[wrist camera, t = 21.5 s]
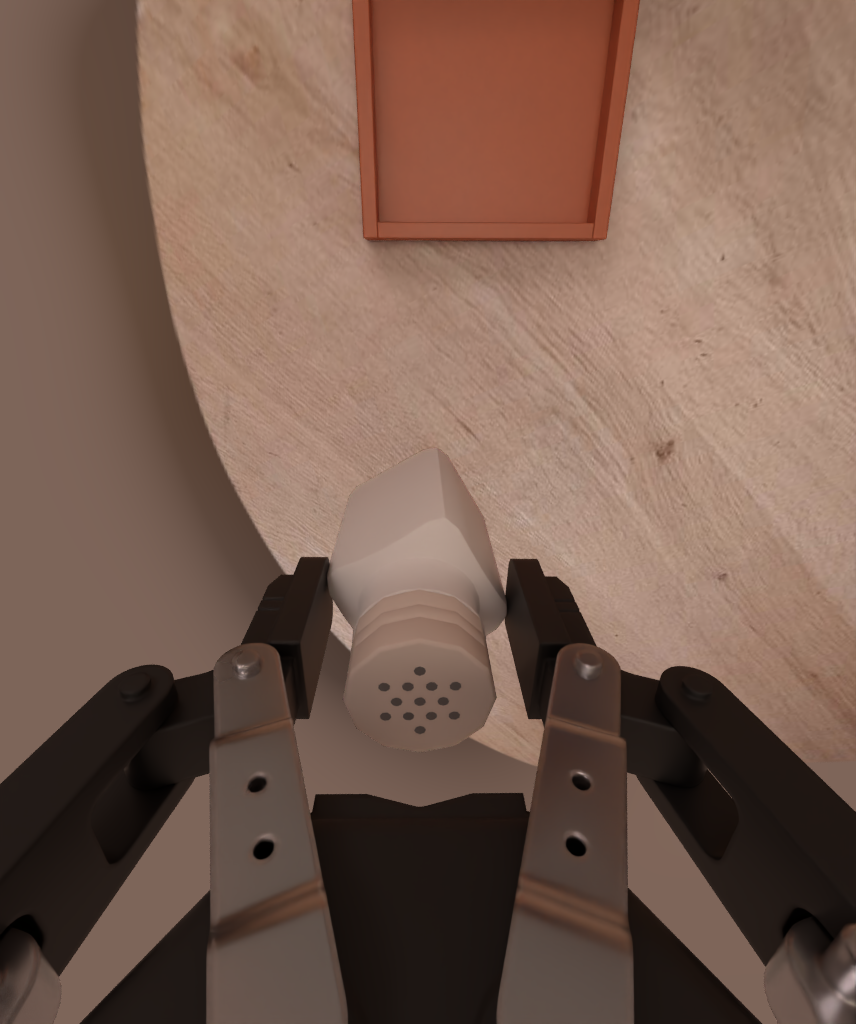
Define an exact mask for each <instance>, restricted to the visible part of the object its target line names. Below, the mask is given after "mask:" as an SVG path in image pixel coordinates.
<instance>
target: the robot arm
mask: <svg viewBox="0 0 856 1024" xmlns="http://www.w3.org/2000/svg"><path fill="white" fill-rule="evenodd" d="M329 566H330V564H329V559H328V557H301V558H300V560H299V562H298V565H297V567H296V570H295V572H294V575H280V576H279V577H278V578H277V579H276V580H274V581H273V582H272V583H271V584H270V585H269V586H268V587H267V590H266V592H265V594H264V596H263V600H262V601H261V603H260V605H259V607H258V611H256V613H255V615H254V618H253V620H252V622H251V624H250V626H249V629H248V630H247V633H246V635H245V637H244V639H243V641H242V643H241V645H240V646H237V647H235V648H233V649H231V650H229V651H228V652H226V653H225V654H224V655H222V656H221V657H220V658H219V660H218V661H217V662H216V664H215V667H214V670H212V671H209V672H206V673H203V674H199V675H195V676H190V677H186V678H182V679H177V680H174V678H173V674H172V673H171V671H170V670H169V669H167V668H166V667H164V666H160V665H143V666H139V667H135V668H132V669H129V670H127V671H125V672H123V673H121V674H119V675H117V676H116V677H114V678H113V679H112V680H110V681H109V682H108V683H107V684H106V685H105V686H104V687H103V688H102V689H101V690H99V691H98V692H97V693H96V694H95V695H94V696H93V697H92V698H91V699H90V700H89V701H88V702H87V703H86V704H85V705H84V706H83V707H82V708H81V709H79V710H78V711H77V712H76V713H75V714H74V715H73V716H72V717H71V718H70V719H69V720H68V721H67V722H66V723H65V724H63V725H62V726H61V727H60V729H58V730H57V731H56V732H55V733H54V734H53V735H52V736H51V737H50V738H49V739H48V740H47V741H46V742H44V743H43V744H42V745H41V746H40V747H39V748H38V749H37V750H36V751H35V752H34V753H33V754H32V755H31V756H30V757H29V758H28V759H26V760H25V761H24V762H23V763H22V764H21V765H20V766H19V767H18V768H17V769H16V770H15V771H14V772H13V773H12V774H11V775H10V776H8V777H7V778H6V779H5V780H4V781H3V782H2V783H1V784H0V1024H53V1023H54V1020H55V1018H56V1015H57V1012H58V1009H59V1006H60V1000H61V983H60V979H59V976H60V974H61V973H62V972H63V970H64V969H65V967H66V966H67V964H68V963H69V961H70V960H71V959H72V957H73V955H74V954H75V953H76V951H77V950H78V948H79V947H80V945H81V944H82V942H83V941H84V940H85V938H86V937H87V935H88V934H89V932H90V931H91V929H92V928H93V926H94V925H95V923H96V922H97V921H98V919H99V918H100V916H101V915H102V913H103V912H104V911H105V909H106V908H107V906H108V905H109V903H110V902H111V900H112V899H113V897H114V896H115V894H116V893H117V892H118V890H119V888H120V887H121V886H122V884H123V883H124V881H125V880H126V879H127V877H128V876H129V874H130V873H131V871H132V870H133V868H134V867H135V865H136V864H137V863H138V861H139V859H140V858H141V857H142V855H143V854H144V852H145V851H146V849H147V848H148V847H149V845H150V844H151V842H152V841H153V839H154V838H155V836H156V835H157V833H158V832H159V830H160V829H161V828H162V826H163V825H164V823H165V822H166V820H167V819H168V818H169V816H170V815H171V813H172V812H173V810H174V809H175V807H176V806H177V804H178V803H179V801H180V800H181V799H182V797H183V796H184V794H185V793H186V791H187V790H188V788H189V787H190V785H191V784H192V782H193V781H194V779H195V777H198V776H202V775H205V774H208V773H210V891H209V892H208V893H207V894H206V895H205V896H204V897H203V898H202V899H201V900H200V901H199V902H198V903H197V904H196V905H195V906H194V907H193V908H192V909H191V910H190V911H189V912H188V913H187V914H186V915H185V916H184V917H183V918H182V919H181V920H180V921H179V922H178V923H177V924H176V925H175V926H174V928H172V929H171V930H170V932H169V933H168V934H167V935H166V936H165V937H164V938H163V939H162V940H161V941H160V942H159V943H158V944H157V945H156V946H155V947H154V948H153V949H152V950H151V951H150V952H149V953H148V954H147V955H146V956H145V957H144V958H143V959H142V960H141V961H140V962H139V963H138V964H137V965H136V966H135V967H134V968H133V969H132V970H131V971H130V972H129V973H128V974H127V976H125V978H124V979H123V980H122V981H121V982H120V983H119V984H118V985H117V986H116V987H115V988H114V989H113V990H112V991H111V992H110V993H109V994H108V995H107V996H106V997H105V998H104V999H103V1000H102V1001H101V1002H100V1003H99V1004H98V1005H97V1006H96V1007H95V1008H94V1009H93V1010H92V1012H90V1013H89V1014H88V1016H86V1017H85V1018H84V1020H83V1021H82V1022H81V1023H80V1024H762V1023H761V1022H760V1021H759V1020H758V1019H757V1018H756V1017H755V1016H754V1015H753V1014H752V1013H751V1012H750V1011H749V1010H748V1009H747V1008H746V1007H745V1006H744V1005H743V1004H742V1003H741V1002H740V1001H739V1000H738V999H737V998H736V997H735V996H734V995H733V994H732V993H731V992H730V991H729V990H728V989H727V988H726V987H725V986H724V984H722V982H721V981H720V980H719V979H718V978H717V977H716V976H715V975H714V974H713V973H712V972H711V971H710V970H709V969H708V968H707V967H706V966H705V965H704V964H703V963H702V962H701V961H700V960H699V959H698V958H697V957H696V956H695V955H694V954H693V953H692V952H691V951H690V950H689V949H688V948H687V947H686V946H685V945H684V944H683V943H682V942H681V941H680V940H679V939H678V938H677V937H676V936H675V935H674V934H673V933H672V932H671V931H670V930H669V929H668V928H667V927H666V926H665V925H664V924H663V923H662V922H661V921H660V920H659V919H658V918H657V917H656V916H655V915H654V914H653V913H652V912H651V910H650V909H649V908H648V907H647V906H646V905H645V904H644V903H643V902H642V901H641V900H640V899H639V898H638V897H637V896H636V895H635V894H634V893H633V892H632V891H631V890H630V889H629V888H628V878H627V877H628V875H627V874H628V873H627V872H628V871H627V870H628V865H627V772H628V773H631V774H635V775H636V776H637V778H638V780H639V781H640V783H641V784H642V786H643V787H644V789H645V790H646V792H647V793H648V795H649V796H650V798H651V799H652V801H653V802H654V804H655V805H656V807H657V808H658V810H659V811H660V813H661V814H662V815H663V817H664V818H665V820H666V821H667V823H668V824H669V825H670V827H671V829H672V830H673V832H674V833H675V835H676V836H677V837H678V839H679V840H680V842H681V843H682V844H683V846H684V848H685V849H686V851H687V852H688V854H689V855H690V857H691V858H692V860H693V861H694V862H695V864H696V865H697V867H698V868H699V870H700V871H701V873H702V874H703V876H704V877H705V879H706V880H707V882H708V883H709V885H710V886H711V887H712V889H713V890H714V892H715V893H716V895H717V896H718V898H719V899H720V901H721V902H722V904H723V905H724V906H725V908H726V909H727V911H728V912H729V914H730V915H731V917H732V918H733V920H734V921H735V923H736V924H737V926H738V927H739V928H740V930H741V932H742V933H743V934H744V936H745V937H746V939H747V940H748V942H749V943H750V945H751V946H752V948H753V949H754V951H755V952H756V954H757V955H758V956H759V958H760V959H761V961H762V962H763V964H764V965H765V967H766V968H765V972H764V987H765V993H766V996H767V1000H768V1003H769V1005H770V1007H771V1010H772V1012H773V1014H774V1016H775V1018H776V1020H777V1024H856V812H855V811H854V810H853V809H852V808H851V807H850V806H849V805H848V804H847V803H846V802H845V801H844V800H842V798H841V797H839V796H838V795H837V794H836V793H835V792H834V791H833V790H832V789H831V788H830V787H829V786H828V785H827V784H826V783H825V782H824V781H823V780H822V779H821V778H820V777H819V776H818V775H817V774H816V773H815V772H814V771H812V770H811V769H810V768H809V767H808V766H807V765H806V764H805V763H804V762H803V761H802V760H801V759H800V758H799V757H798V756H797V755H796V754H795V753H794V752H793V751H792V750H791V749H790V748H789V747H788V746H787V745H786V744H784V743H783V742H782V741H781V740H780V739H779V738H778V737H777V736H776V735H775V734H774V733H773V732H772V731H771V730H770V729H769V728H768V727H767V726H766V725H765V724H764V723H763V722H762V721H761V720H760V719H759V718H758V717H756V716H755V715H754V714H753V713H752V712H751V711H750V710H749V709H748V708H747V707H746V706H745V705H744V704H743V703H742V702H741V701H740V700H739V699H738V698H737V697H736V696H735V695H734V694H733V693H732V692H731V691H730V690H728V689H727V688H726V687H725V686H724V685H723V684H722V683H721V682H720V681H719V680H717V679H716V678H714V677H713V676H711V675H710V674H708V673H706V672H703V671H701V670H698V669H695V668H691V667H685V666H675V667H671V668H668V669H666V670H665V671H664V672H663V673H662V675H661V678H660V681H659V680H655V679H651V678H647V677H642V676H638V675H634V674H631V673H628V672H625V671H623V670H621V669H620V666H619V664H618V662H617V661H616V659H615V658H614V657H613V656H612V655H611V654H609V653H608V652H606V651H605V650H603V649H601V648H599V647H597V646H596V644H595V642H594V640H593V638H592V636H591V633H590V631H589V629H588V627H587V625H586V623H585V621H584V619H583V616H582V614H581V612H579V608H578V606H577V604H576V602H575V600H574V597H573V595H572V593H571V591H570V589H569V587H568V586H567V585H565V584H564V583H563V582H562V581H561V580H560V579H558V578H557V577H545V576H544V573H543V571H542V569H541V566H540V564H539V561H538V560H537V559H510V562H509V567H508V576H507V585H506V595H505V597H506V601H507V616H506V617H505V626H506V630H507V634H508V638H509V642H510V646H511V650H512V654H513V658H514V663H515V667H516V671H517V675H518V679H519V683H520V687H521V691H522V695H523V699H524V703H525V707H526V711H527V716H528V719H542V722H543V725H544V733H543V739H542V745H541V750H540V756H539V762H538V768H537V773H536V779H535V786H534V791H533V797H532V802H531V808H530V812H529V811H526V806H525V801H524V796H523V793H479V794H478V793H473V794H469V795H465V796H462V797H457V798H454V799H450V800H446V801H443V802H439V803H436V804H432V805H428V806H424V807H416V806H412V805H408V804H403V803H400V802H396V801H392V800H388V799H384V798H380V797H376V796H372V795H368V794H316V795H315V801H314V806H313V811H312V813H310V810H309V805H308V800H307V794H306V789H305V784H304V778H303V773H302V768H301V762H300V757H299V753H298V747H297V742H296V737H295V731H294V724H295V720H296V719H309V717H310V713H311V709H312V704H313V700H314V696H315V691H316V688H317V683H318V679H319V675H320V671H321V667H322V662H323V658H324V654H325V650H326V645H327V641H328V637H329V633H330V629H331V624H332V616H333V600H332V597H331V596H330V594H329V588H328V582H327V572H328V569H329ZM707 768H708V769H709V770H710V771H711V773H712V774H713V775H714V776H715V777H716V779H717V780H718V781H719V782H720V783H721V785H722V786H723V787H724V788H725V789H726V791H727V792H728V793H729V794H730V796H731V797H732V798H731V797H730V796H729V795H728V793H727V792H726V791H725V790H724V789H723V787H722V786H721V785H720V784H719V782H718V781H717V780H716V779H715V778H714V776H713V775H712V774H711V773H710V772H709V771H708V769H707Z"/></svg>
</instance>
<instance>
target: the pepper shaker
mask: <svg viewBox="0 0 856 1024" xmlns="http://www.w3.org/2000/svg"><path fill="white" fill-rule="evenodd" d="M327 582H328V588H329V594H330V596H331V597H332V599H333V600H334V602H335V603H336V605H337V607H338V608H339V610H340V611H341V613H342V614H343V616H344V617H345V619H346V620H347V621H348V623H349V624H350V625H351V627H352V628H353V629H354V630H353V640H352V648H351V654H350V661H349V666H348V673H347V678H346V684H345V690H344V696H343V701H344V703H345V705H346V708H347V710H348V712H349V714H350V716H351V718H352V720H353V722H354V725H355V727H356V728H357V729H358V730H360V731H361V732H363V733H364V734H366V735H367V736H369V737H370V738H372V739H373V740H375V741H377V742H378V743H380V744H381V745H383V746H385V747H391V748H397V749H403V750H409V751H415V752H424V751H430V750H435V749H439V748H445V747H450V746H455V745H457V744H459V743H460V742H461V741H463V740H464V739H466V738H467V737H469V736H470V735H472V734H473V733H475V732H476V731H478V730H479V729H480V728H482V727H483V726H484V724H485V722H486V720H487V718H488V715H489V713H490V711H491V709H492V707H493V704H494V702H495V700H496V698H497V697H496V692H495V687H494V681H493V676H492V672H491V665H490V660H489V655H488V649H487V644H486V636H487V635H488V634H490V633H491V632H493V631H494V630H496V629H497V628H498V626H499V625H500V624H501V622H502V621H503V620H504V618H505V617H506V616H507V601H506V597H505V594H504V590H503V586H502V583H501V579H500V575H499V572H498V568H497V564H496V561H495V557H494V553H493V550H492V546H491V542H490V538H489V535H488V531H487V527H486V524H485V520H484V517H483V515H482V513H481V511H480V510H479V508H478V506H477V505H476V503H475V501H474V500H473V498H472V496H471V494H470V493H469V491H468V489H467V488H466V486H465V484H464V482H463V481H462V479H461V477H460V476H459V474H458V472H457V471H456V469H455V467H454V465H453V464H452V462H451V460H450V459H449V457H448V455H447V454H445V453H444V452H443V451H441V450H440V449H438V448H437V447H435V448H430V449H424V450H422V451H420V452H418V453H416V454H414V455H413V456H411V457H409V458H407V459H405V460H404V461H402V462H400V463H398V464H396V465H395V466H393V467H391V468H389V469H387V470H385V471H384V472H382V473H380V474H378V475H376V476H375V477H373V478H371V479H369V480H367V481H366V482H364V483H362V484H360V485H358V486H357V487H356V488H355V489H354V490H353V492H352V493H351V494H350V496H349V499H348V502H347V505H346V509H345V512H344V516H343V519H342V523H341V526H340V530H339V533H338V536H337V540H336V543H335V547H334V550H333V554H332V557H331V560H330V566H329V569H328V572H327Z"/></svg>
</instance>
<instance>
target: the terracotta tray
mask: <svg viewBox="0 0 856 1024" xmlns="http://www.w3.org/2000/svg"><path fill="white" fill-rule="evenodd" d="M639 3H640V0H352V8H353V29H354V49H355V70H356V91H357V112H358V133H359V154H360V175H361V196H362V217H363V237H364V238H365V239H367V240H433V241H598V240H604V239H606V238H607V231H608V223H609V216H610V209H611V202H612V195H613V188H614V181H615V174H616V167H617V160H618V152H619V145H620V138H621V131H622V124H623V117H624V110H625V103H626V96H627V88H628V81H629V74H630V67H631V60H632V53H633V46H634V39H635V32H636V24H637V17H638V10H639Z"/></svg>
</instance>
